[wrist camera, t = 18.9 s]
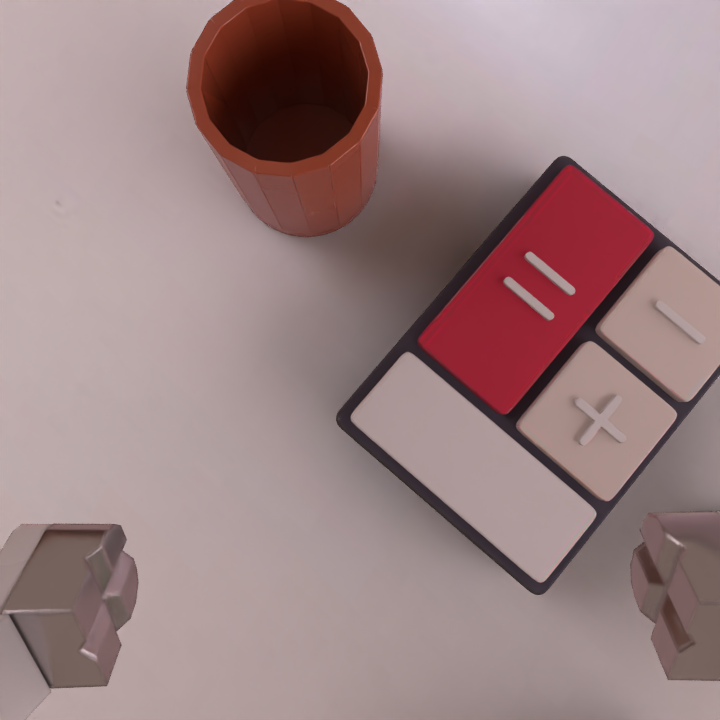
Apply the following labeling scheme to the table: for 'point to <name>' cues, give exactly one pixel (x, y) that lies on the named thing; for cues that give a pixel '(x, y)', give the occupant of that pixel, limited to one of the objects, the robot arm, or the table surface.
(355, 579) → the table surface
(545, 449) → the calculator
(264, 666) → the table surface
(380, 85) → the cup
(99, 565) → the robot arm
